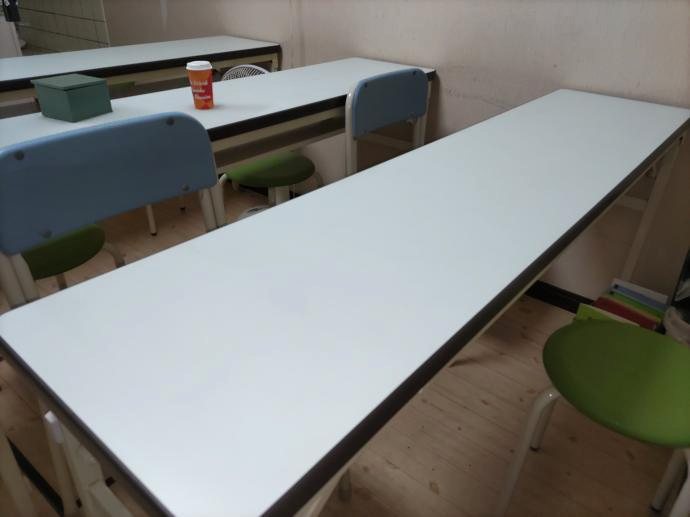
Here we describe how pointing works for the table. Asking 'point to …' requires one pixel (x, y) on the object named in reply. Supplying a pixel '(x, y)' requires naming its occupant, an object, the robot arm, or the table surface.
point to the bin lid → (68, 81)
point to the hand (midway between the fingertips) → (13, 21)
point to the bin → (74, 102)
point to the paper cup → (201, 84)
